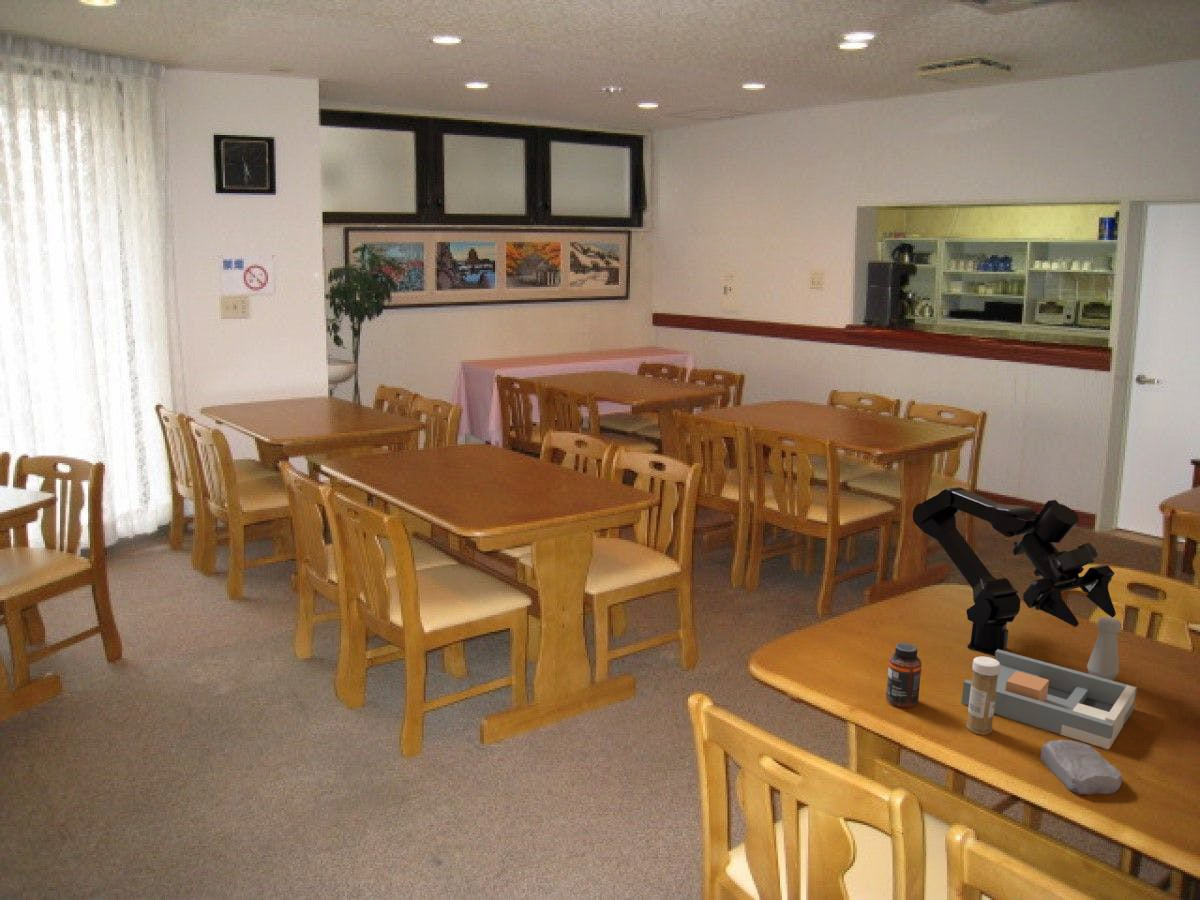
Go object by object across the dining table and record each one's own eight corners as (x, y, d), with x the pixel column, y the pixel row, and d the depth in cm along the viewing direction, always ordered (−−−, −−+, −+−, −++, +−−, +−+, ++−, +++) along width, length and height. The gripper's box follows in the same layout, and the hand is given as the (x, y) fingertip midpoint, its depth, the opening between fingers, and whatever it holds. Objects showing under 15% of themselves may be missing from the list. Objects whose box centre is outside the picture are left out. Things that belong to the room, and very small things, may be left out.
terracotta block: (1004, 700, 191) (1006, 681, 190) (1013, 689, 196) (1016, 670, 195) (1037, 710, 188) (1039, 690, 187) (1046, 699, 192) (1049, 679, 191)
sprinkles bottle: (997, 734, 183) (1006, 665, 180) (974, 736, 182) (983, 667, 179) (982, 722, 187) (990, 654, 184) (960, 724, 186) (968, 656, 183)
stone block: (1085, 766, 176) (1033, 757, 175) (1095, 742, 175) (1042, 733, 174) (1125, 807, 165) (1069, 798, 164) (1135, 782, 164) (1079, 772, 162)
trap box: (961, 703, 194) (964, 679, 193) (995, 669, 209) (998, 646, 208) (1108, 749, 178) (1112, 723, 177) (1133, 709, 194) (1137, 684, 193)
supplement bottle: (918, 697, 196) (924, 643, 193) (917, 711, 190) (923, 655, 188) (886, 692, 198) (891, 638, 195) (884, 705, 192) (889, 650, 190)
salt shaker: (1120, 687, 203) (1130, 626, 200) (1089, 683, 204) (1098, 623, 201) (1112, 674, 208) (1121, 615, 205) (1082, 671, 209) (1091, 612, 207)
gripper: (1027, 540, 195) (1078, 605, 185) (1101, 524, 201) (1154, 586, 191) (1002, 575, 203) (1050, 639, 193) (1075, 559, 209) (1124, 620, 199)
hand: (1095, 620), depth 194 cm, fingers open, 9 cm apart
